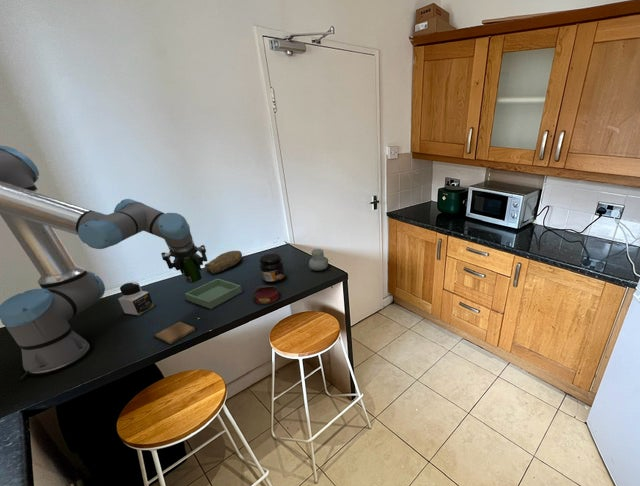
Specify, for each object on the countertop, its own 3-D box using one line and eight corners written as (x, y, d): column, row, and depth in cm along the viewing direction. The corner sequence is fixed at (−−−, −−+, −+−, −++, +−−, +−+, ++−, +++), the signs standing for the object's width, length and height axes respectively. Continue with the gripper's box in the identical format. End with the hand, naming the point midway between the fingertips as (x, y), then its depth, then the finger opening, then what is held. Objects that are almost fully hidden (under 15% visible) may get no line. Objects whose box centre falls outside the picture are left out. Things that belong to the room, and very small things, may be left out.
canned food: (256, 309, 137) (243, 291, 135) (274, 297, 145) (262, 279, 142) (269, 306, 130) (256, 286, 128) (287, 293, 138) (274, 274, 135)
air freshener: (325, 273, 159) (322, 255, 154) (308, 273, 159) (306, 255, 154) (329, 264, 169) (327, 246, 164) (314, 263, 169) (312, 246, 164)
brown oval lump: (217, 278, 156) (251, 257, 169) (208, 265, 152) (244, 245, 165) (206, 275, 164) (239, 255, 177) (198, 263, 160) (232, 243, 173)
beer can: (197, 284, 123) (188, 256, 118) (183, 284, 123) (174, 256, 118) (204, 277, 128) (196, 250, 123) (191, 277, 128) (182, 251, 123)
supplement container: (267, 286, 146) (262, 263, 141) (260, 278, 153) (255, 256, 148) (289, 280, 152) (285, 257, 147) (281, 272, 159) (277, 250, 154)
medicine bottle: (138, 315, 125) (127, 289, 120) (124, 313, 126) (112, 287, 121) (154, 306, 131) (144, 281, 126) (140, 304, 133) (130, 279, 127)
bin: (210, 309, 130) (208, 302, 128) (187, 300, 136) (184, 293, 134) (242, 291, 142) (240, 285, 141) (219, 284, 148) (217, 278, 147)
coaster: (170, 344, 110) (169, 341, 109) (155, 336, 113) (154, 334, 113) (195, 329, 117) (194, 327, 117) (180, 323, 121) (179, 321, 120)
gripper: (150, 260, 102) (166, 283, 121) (214, 247, 111) (218, 271, 131) (145, 240, 103) (161, 266, 123) (208, 229, 113) (213, 255, 132)
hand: (191, 269), depth 127 cm, fingers closed on beer can, 5 cm apart
